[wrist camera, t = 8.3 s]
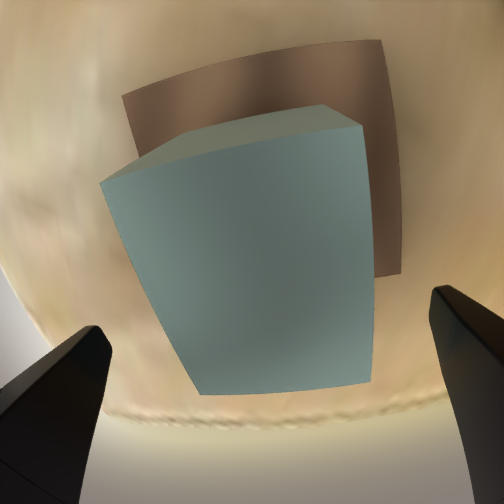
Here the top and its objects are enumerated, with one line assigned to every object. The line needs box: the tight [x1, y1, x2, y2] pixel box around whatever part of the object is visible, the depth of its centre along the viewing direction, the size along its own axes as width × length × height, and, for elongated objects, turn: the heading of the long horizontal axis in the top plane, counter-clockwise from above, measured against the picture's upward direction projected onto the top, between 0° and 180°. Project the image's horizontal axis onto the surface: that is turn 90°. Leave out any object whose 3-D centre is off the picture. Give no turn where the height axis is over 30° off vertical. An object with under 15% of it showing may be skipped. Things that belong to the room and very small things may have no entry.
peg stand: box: [122, 40, 402, 278], centre depth 16 cm, size 14×14×4 cm
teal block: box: [100, 104, 374, 395], centre depth 11 cm, size 6×8×7 cm
